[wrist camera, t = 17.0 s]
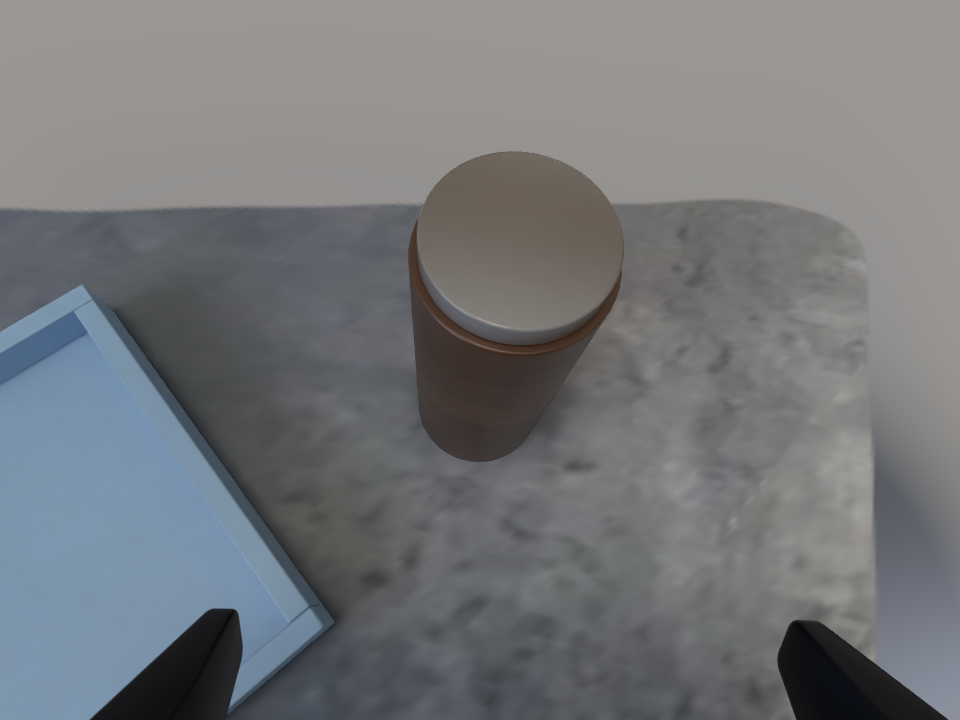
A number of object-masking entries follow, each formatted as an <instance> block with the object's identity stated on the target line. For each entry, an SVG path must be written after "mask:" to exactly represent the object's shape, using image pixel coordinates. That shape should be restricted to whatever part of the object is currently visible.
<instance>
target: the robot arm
mask: <svg viewBox="0 0 960 720" xmlns="http://www.w3.org/2000/svg"><path fill="white" fill-rule="evenodd" d="M242 654H243V642H242V635H241V627H240V620H239V614H238V612H237V610H235V609H230V608H212V609H210V610H208V611H206V612H205V613H204V614H203V615H202V616H201V617H199V618H198V619H197V620H196V621H195V622H194V623H193V624H192V625H191V626H190V627H189V628H188V629H187V630H185V631H184V632H183V633H182V634H181V635H180V636H179V637H178V638H177V639H176V640H175V641H174V642H173V643H171V644H170V645H169V646H168V647H167V648H166V649H165V650H164V651H163V652H162V653H161V654H160V655H159V656H157V657H156V658H155V659H154V660H153V661H152V662H151V663H150V664H149V665H148V666H147V667H146V668H144V669H143V670H142V671H141V672H140V673H139V674H138V675H137V676H136V677H135V678H134V679H133V680H132V681H130V682H129V683H128V684H127V685H126V686H125V687H124V688H123V689H122V690H121V691H120V692H119V693H118V694H116V695H115V696H114V697H113V698H112V699H111V700H110V701H109V702H108V703H107V704H106V705H105V706H103V707H102V708H101V709H100V710H99V711H98V712H97V713H96V714H95V715H94V716H93V717H92V718H91V719H89V720H226V717H227V713H228V710H229V706H230V702H231V698H232V695H233V691H234V687H235V683H236V679H237V676H238V672H239V668H240V664H241V660H242ZM777 660H778V668H779V671H780V674H781V677H782V680H783V683H784V686H785V689H786V691H787V694H788V697H789V700H790V703H791V706H792V709H793V711H794V714H795V717H796V720H948V719H947V718H945V717H944V716H943V715H942V714H940V713H939V712H938V711H936V710H935V709H934V708H932V707H931V706H930V705H928V704H927V703H926V702H925V701H923V700H922V699H921V698H919V697H918V696H917V695H915V694H914V693H913V692H911V691H910V690H909V689H907V688H906V687H905V686H903V685H902V684H901V683H900V682H898V681H897V680H896V679H894V678H893V677H892V676H890V675H889V674H888V673H887V672H885V671H884V670H882V669H881V668H880V667H879V666H877V665H876V664H875V663H873V662H872V661H871V660H869V659H868V658H867V657H866V656H864V655H863V654H862V653H860V652H859V651H858V650H856V649H855V648H854V647H852V646H851V645H850V644H848V643H847V642H846V641H845V640H843V639H842V638H841V637H839V636H838V635H837V634H835V633H834V632H833V631H831V630H830V629H829V628H828V627H826V626H825V625H823V624H822V623H820V622H818V621H813V620H795V621H793V622H791V623H790V625H789V627H788V629H787V632H786V634H785V637H784V639H783V642H782V644H781V647H780V649H779V652H778V659H777Z"/></svg>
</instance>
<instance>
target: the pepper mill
mask: <svg viewBox="0 0 960 720" xmlns="http://www.w3.org/2000/svg"><path fill="white" fill-rule="evenodd" d="M623 257H624V242H623V235H622V230H621V226H620V223H619V219H618V217H617V215H616V213H615V210H614V208H613V207H612V205H611V203H610V202H609V200H608V199H607V197H606V196H605V195H604V194H603V192H602V191H601V190H600V189H599V188H598V187H597V186H596V185H595V184H594V183H593V182H592V181H591V180H590V179H589V178H587V177H586V176H585V175H583V174H582V173H581V172H579V171H578V170H576V169H574V168H573V167H571V166H569V165H567V164H565V163H563V162H561V161H559V160H556V159H553V158H550V157H547V156H543V155H539V154H535V153H527V152H498V153H492V154H488V155H483V156H480V157H477V158H474V159H472V160H469V161H467V162H465V163H463V164H461V165H459V166H458V167H456V168H454V169H453V170H451V171H450V172H449V173H448V174H446V175H445V176H444V177H443V178H442V179H441V180H440V181H439V182H438V183H437V184H436V185H435V186H434V188H433V189H432V191H431V192H430V194H429V195H428V196H427V198H426V200H425V202H424V204H423V206H422V209H421V212H420V215H419V217H418V219H417V221H416V223H415V225H414V228H413V231H412V234H411V237H410V243H409V252H408V263H409V277H410V290H411V304H412V318H413V331H414V345H415V359H416V373H417V386H418V400H419V411H420V416H421V420H422V423H423V425H424V428H425V430H426V432H427V433H428V435H429V436H430V438H431V439H432V440H433V441H434V442H435V443H436V444H437V445H438V446H439V447H440V448H441V449H443V450H444V451H445V452H447V453H449V454H451V455H452V456H455V457H457V458H460V459H464V460H468V461H476V462H477V461H490V460H494V459H498V458H500V457H503V456H505V455H507V454H509V453H510V452H512V451H513V450H515V449H516V448H517V447H518V446H519V445H520V444H521V443H522V442H523V441H524V440H525V438H526V437H527V436H528V434H529V433H530V431H531V430H532V428H533V427H534V425H535V424H536V422H537V421H538V419H539V418H540V416H541V415H542V413H543V412H544V410H545V408H546V407H547V405H548V404H549V402H550V401H551V399H552V398H553V396H554V395H555V393H556V392H557V390H558V389H559V387H560V386H561V384H562V383H563V381H564V380H565V378H566V377H567V375H568V374H569V372H570V371H571V369H572V368H573V366H574V365H575V363H576V362H577V360H578V359H579V357H580V356H581V354H582V353H583V351H584V350H585V348H586V347H587V345H588V344H589V342H590V341H591V339H592V338H593V336H594V334H595V333H596V331H597V330H598V328H599V327H600V325H601V324H602V322H603V321H604V319H605V318H606V316H607V315H608V313H609V312H610V310H611V308H612V306H613V304H614V302H615V300H616V298H617V294H618V291H619V288H620V282H621V276H622V263H623Z"/></svg>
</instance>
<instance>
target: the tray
mask: <svg viewBox="0 0 960 720" xmlns="http://www.w3.org/2000/svg"><path fill="white" fill-rule="evenodd" d="M212 608H230V609H235V610H237V612H238V614H239V620H240V627H241V635H242V642H243V654H242V660H241V664H240V668H239V672H238V676H237V679H236V683H235V687H234V691H233V695H232V698H231V702H230V706H229V710H228V713H227V715H228V714H229V713H230V712H232V711H233V710H234V709H235V708H236V707H237V706H239V705H240V704H241V703H242V702H243V701H244V700H246V699H247V698H248V697H249V696H250V695H251V694H253V693H254V692H255V691H256V690H257V689H258V688H260V687H261V686H262V685H263V684H264V683H265V682H266V681H268V680H269V679H270V678H271V677H272V676H273V675H275V674H276V673H277V672H278V671H279V670H280V669H282V668H283V667H284V666H285V665H286V664H287V663H289V662H290V661H291V660H292V659H293V658H294V657H296V656H297V655H298V654H299V653H300V652H301V651H303V650H304V649H305V648H306V647H307V646H308V645H310V644H311V643H312V642H313V641H314V640H315V639H316V638H318V637H319V636H320V635H321V634H322V633H323V632H325V631H326V630H327V629H328V628H329V627H330V626H332V625H333V624H334V623H335V622H334V620H333V619H332V617H331V616H330V614H329V613H328V612H327V610H326V609H325V607H324V606H323V605H322V603H321V602H320V600H319V599H318V598H317V596H316V595H315V593H314V592H313V591H312V589H311V588H310V586H309V585H308V584H307V582H306V581H305V579H304V578H303V577H302V575H301V574H300V572H299V571H298V570H297V568H296V567H295V565H294V564H293V563H292V561H291V560H290V558H289V557H288V556H287V554H286V553H285V551H284V550H283V549H282V547H281V546H280V544H279V543H278V541H277V540H276V539H275V537H274V536H273V534H272V533H271V532H270V530H269V529H268V527H267V526H266V525H265V523H264V522H263V520H262V519H261V518H260V516H259V515H258V513H257V512H256V511H255V509H254V508H253V506H252V505H251V504H250V502H249V501H248V499H247V498H246V497H245V495H244V494H243V492H242V491H241V490H240V488H239V487H238V485H237V484H236V483H235V481H234V480H233V478H232V477H231V476H230V474H229V473H228V471H227V470H226V469H225V467H224V466H223V464H222V463H221V462H220V460H219V459H218V457H217V456H216V455H215V453H214V452H213V450H212V449H211V448H210V446H209V445H208V443H207V442H206V441H205V439H204V438H203V436H202V435H201V434H200V432H199V431H198V429H197V428H196V427H195V425H194V424H193V422H192V421H191V420H190V418H189V417H188V415H187V414H186V412H185V411H184V410H183V408H182V407H181V405H180V404H179V403H178V401H177V400H176V398H175V397H174V396H173V394H172V393H171V391H170V390H169V389H168V387H167V386H166V384H165V383H164V382H163V380H162V379H161V377H160V376H159V375H158V373H157V372H156V370H155V369H154V368H153V366H152V365H151V363H150V362H149V361H148V359H147V358H146V356H145V355H144V354H143V352H142V351H141V349H140V348H139V347H138V345H137V344H136V342H135V341H134V340H133V338H132V337H131V335H130V334H129V333H128V331H127V330H126V328H125V327H124V326H123V324H122V323H121V321H120V320H119V319H118V317H117V316H116V314H115V313H114V312H113V310H112V309H111V308H110V307H109V306H107V305H106V304H105V303H104V302H103V301H102V300H100V299H99V298H98V297H97V296H96V295H94V294H93V293H92V292H91V291H90V290H89V289H87V288H86V287H85V286H84V285H80V286H79V287H77V288H75V289H73V290H72V291H70V292H68V293H66V294H65V295H63V296H61V297H59V298H58V299H56V300H54V301H53V302H51V303H49V304H47V305H46V306H44V307H42V308H40V309H39V310H37V311H35V312H33V313H32V314H30V315H28V316H27V317H25V318H23V319H21V320H20V321H18V322H16V323H14V324H13V325H11V326H9V327H7V328H6V329H4V330H2V331H1V332H0V720H89V719H91V718H92V717H93V716H94V715H95V714H96V713H97V712H98V711H99V710H100V709H101V708H102V707H103V706H105V705H106V704H107V703H108V702H109V701H110V700H111V699H112V698H113V697H114V696H115V695H116V694H118V693H119V692H120V691H121V690H122V689H123V688H124V687H125V686H126V685H127V684H128V683H129V682H130V681H132V680H133V679H134V678H135V677H136V676H137V675H138V674H139V673H140V672H141V671H142V670H143V669H144V668H146V667H147V666H148V665H149V664H150V663H151V662H152V661H153V660H154V659H155V658H156V657H157V656H159V655H160V654H161V653H162V652H163V651H164V650H165V649H166V648H167V647H168V646H169V645H170V644H171V643H173V642H174V641H175V640H176V639H177V638H178V637H179V636H180V635H181V634H182V633H183V632H184V631H185V630H187V629H188V628H189V627H190V626H191V625H192V624H193V623H194V622H195V621H196V620H197V619H198V618H199V617H201V616H202V615H203V614H204V613H205V612H206V611H208V610H210V609H212Z"/></svg>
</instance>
